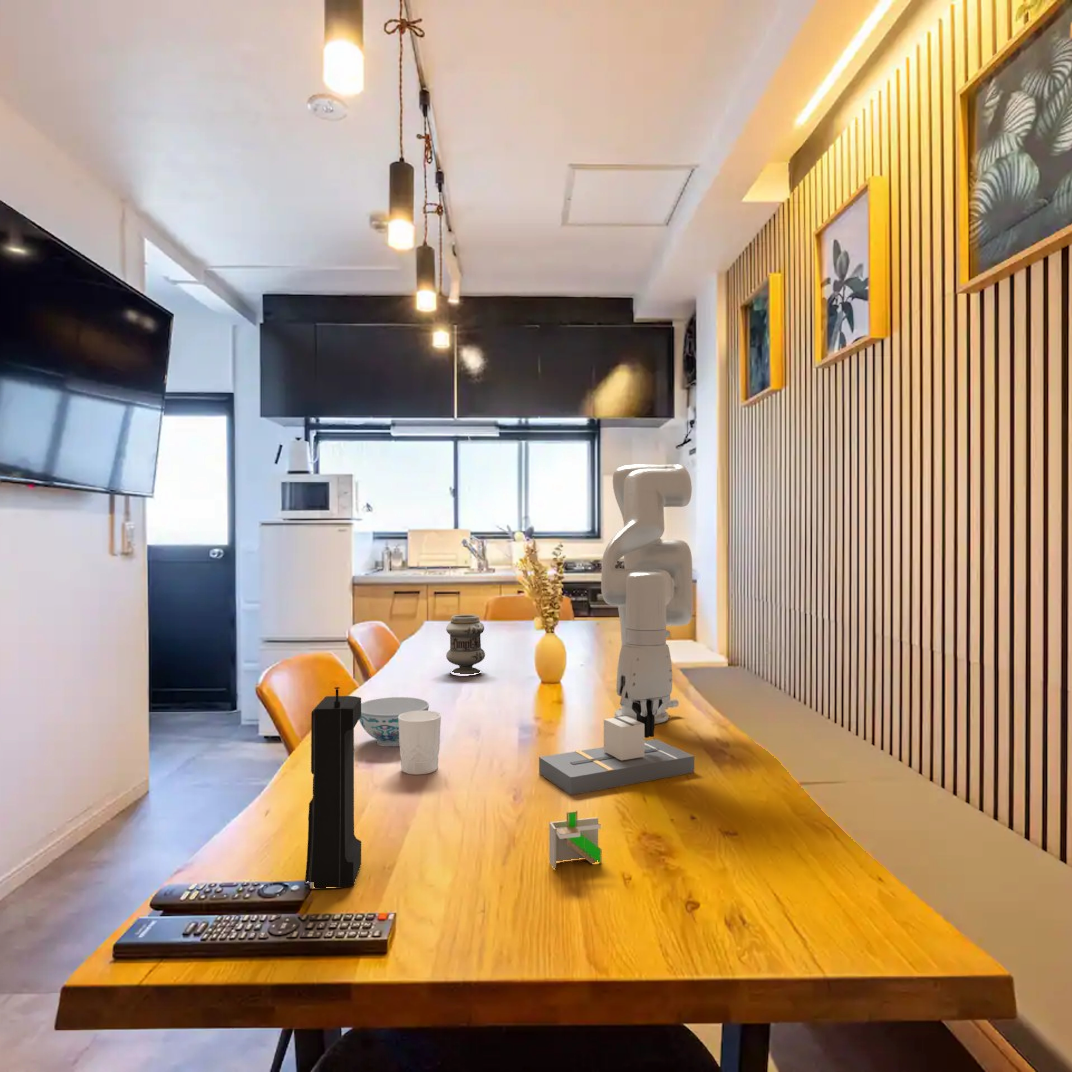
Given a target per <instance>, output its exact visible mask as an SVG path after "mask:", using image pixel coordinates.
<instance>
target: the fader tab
mask: <svg viewBox="0 0 1072 1072" xmlns="http://www.w3.org/2000/svg"><path fill="white" fill-rule="evenodd" d="M644 741H645V737H644V723H641V722H639V721H636V720H634V719H632V718H629V717H627V716H624V717H615V716H613V717H610V718H604V719H603V747H604V752H606V753H608V754H610V755H612V756H614V757H616V758H618V759H619V760H627V759H633V758H639V757H644Z"/></svg>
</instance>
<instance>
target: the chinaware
mask: <svg viewBox="0 0 1072 1072" xmlns="http://www.w3.org/2000/svg"><path fill="white" fill-rule="evenodd" d="M429 709H430V703H429V702H428V701H427V700H425V699H422V698H416V697H408V696H407V697H405V696H395V697H394V696H393V697H379V698H375V699H371V700H366V701H364V702H361V717H360V719H359V720H358V722H359V723H360V725H361V726H362V728H363V730H364V731H365V732H366V733H367V734H368V735H369V736H370V737H372V738H373V739H375V740H376V743H377V745H378V746H381V747H382V746H383V747H388V746H393V747H398V746H399V747H400V745H399V724H398V716H399V715H400V714H402V713H406V712H410V711H429Z"/></svg>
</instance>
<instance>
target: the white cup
mask: <svg viewBox="0 0 1072 1072" xmlns="http://www.w3.org/2000/svg"><path fill="white" fill-rule="evenodd" d="M441 719H442V715H441V713H439V712H437V711H434V710H428V711H410V712H406V713H402V714H400V715H399V716H398V724H399V745H400V746H399V755H400V770H401V771H402V773H404V774H406V775H407V774H409V775H419V776H421V775H427V774H430V773H433V772H436V771H437V769H438V768H439V754H440V743H441V725H442V723H441V721H442V720H441Z"/></svg>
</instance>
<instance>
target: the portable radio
mask: <svg viewBox="0 0 1072 1072" xmlns="http://www.w3.org/2000/svg"><path fill="white" fill-rule="evenodd" d="M340 687H341V686H340ZM340 687H338V686H335V687H334V689H335V695H334V696H332V695H331V696H328V695H327V696H324V698H323V699H322V700H321V701H319V703H318V704H317V705H316V706H315V707H314V708H313V709H312V711H311V713H310V714H311V719H310V720H311V721H310V722H311V725H310V726H311V727H310V729H311V732H310V737H311V738H310V743H311V744H310V750H311V751H310V754H311V755H310V772H311V774H312V775H313V777H312V798H311V800H310V802H309V803H308V815H307V816H308V817H307V818H308V823H307V824H308V826H307V827H308V829H307V830H308V831H307V848H306V849H307V850H306V851H307V853H306V868H305V878H304V882H305V881H306V882H307V881H309V882H314V887H315V888H326V887H343V888H346V887H345V886H348V887H350V886H349V885H352V886H355V884H354V882H355V883H356V881H355V879H356V880H357V878H356V877H358V875H359V872H360V869H361V866H362V840H360V839H358V838H357V837H356V835H355V754H354V753H355V733H354V732H355V727H356V725H357V723H358V722H359V719H360V717H361V703H362V697H359V696H354V695H339V689H341V688H340ZM360 865H361V866H360ZM359 868H360V869H359ZM358 871H359V872H358ZM357 874H358V875H357Z"/></svg>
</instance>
